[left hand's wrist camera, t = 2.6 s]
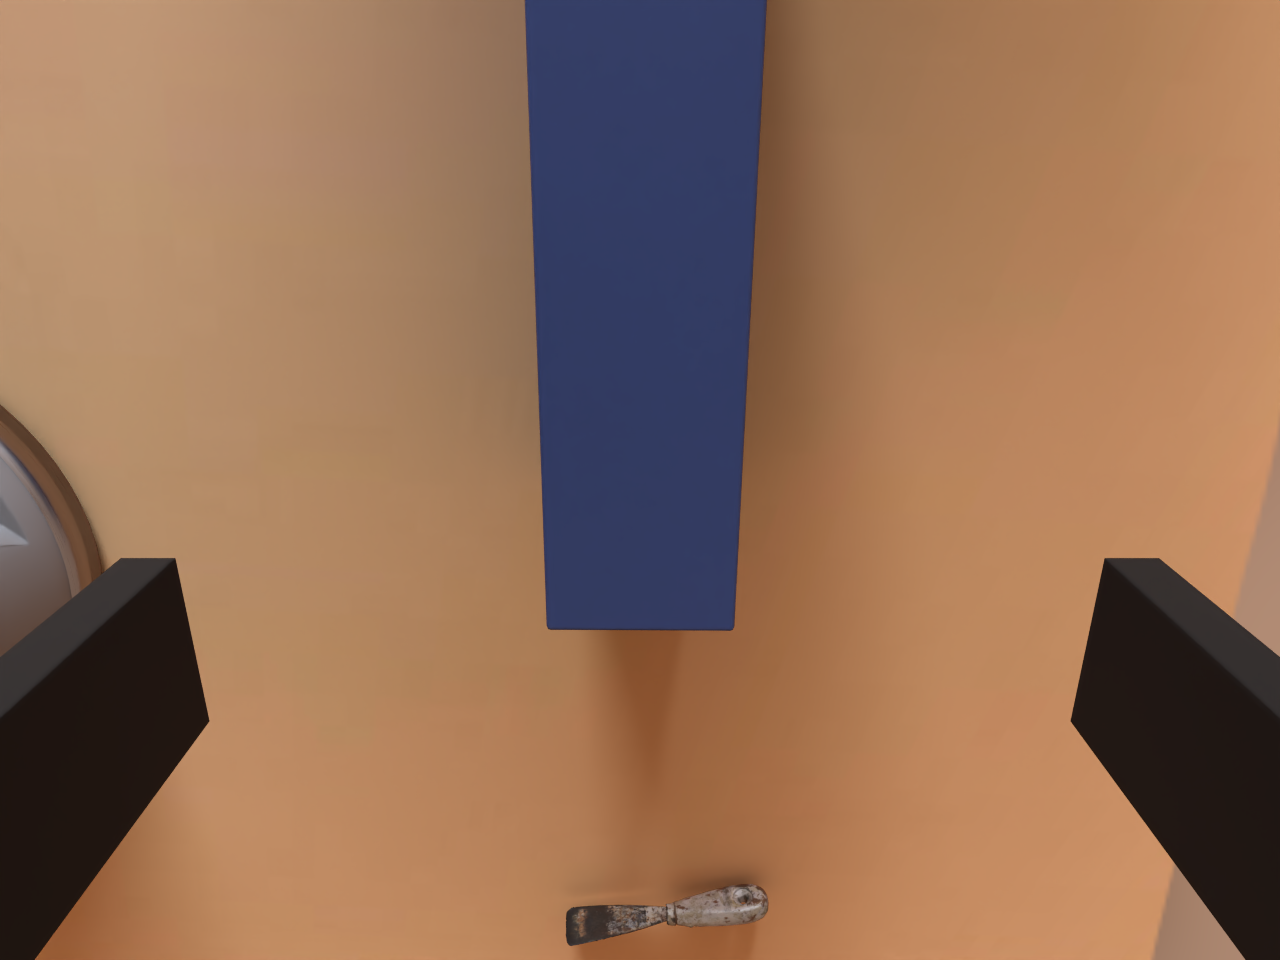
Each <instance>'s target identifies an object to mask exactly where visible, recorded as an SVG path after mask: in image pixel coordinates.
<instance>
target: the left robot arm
mask: <svg viewBox="0 0 1280 960" xmlns="http://www.w3.org/2000/svg"><path fill="white" fill-rule="evenodd" d="M208 722H209V717H208V712H207V708H206V703H205V698H204V693H203V688H202V684H201V679H200V674H199V669H198V665H197V660H196V655H195V650H194V645H193V641H192V636H191V631H190V626H189V622H188V617H187V612H186V607H185V602H184V598H183V593H182V588H181V583H180V579H179V574H178V569H177V564H176V559H175V558H121V559H120V560H118V561H117V562H116V563H115V564H113V565H112V566H111V567H110V568H109V569H107V570H106V571H105V572H104V573H101V564H100V560H99V555H98V550H97V546H96V542H95V539H94V536H93V533H92V530H91V527H90V524H89V522H88V520H87V517H86V515H85V513H84V511H83V508H82V506H81V504H80V502H79V500H78V498H77V496H76V495H75V493H74V491H73V489H72V487H71V486H70V484H69V482H68V481H67V479H66V478H65V476H64V475H63V473H62V472H61V470H60V469H59V467H58V466H57V464H56V463H55V462H54V460H53V459H52V458H51V457H50V455H49V454H48V453H47V452H46V450H45V449H44V448H43V446H42V445H41V444H40V443H39V442H38V441H37V440H36V439H35V438H34V436H33V435H32V434H31V433H30V432H29V431H28V430H27V429H26V428H25V427H24V426H23V425H22V424H21V423H20V422H19V421H18V420H17V419H16V418H15V417H14V416H12V415H11V414H10V413H9V412H8V411H7V410H6V409H5V408H4V407H2V406H1V405H0V960H35V958H36V957H37V956H38V954H39V953H40V951H41V950H42V949H43V947H44V946H45V945H46V943H47V942H48V941H49V939H50V938H51V936H52V935H53V934H54V932H55V931H56V930H57V928H58V927H59V926H60V924H61V923H62V921H63V920H64V919H65V917H66V916H67V915H68V913H69V912H70V911H71V909H72V908H73V906H74V905H75V904H76V902H77V901H78V900H79V898H80V897H81V896H82V894H83V893H84V891H85V890H86V889H87V887H88V886H89V885H90V883H91V882H92V881H93V879H94V878H95V876H96V875H97V874H98V872H99V871H100V870H101V868H102V867H103V866H104V864H105V863H106V861H107V860H108V859H109V857H110V856H111V855H112V853H113V852H114V851H115V849H116V848H117V846H118V845H119V844H120V842H121V841H122V840H123V838H124V837H125V836H126V834H127V833H128V831H129V830H130V829H131V827H132V826H133V825H134V823H135V822H136V821H137V819H138V818H139V816H140V815H141V814H142V812H143V811H144V810H145V808H146V807H147V806H148V804H149V803H150V801H151V800H152V799H153V797H154V796H155V795H156V793H157V792H158V791H159V789H160V788H161V786H162V785H163V784H164V782H165V781H166V780H167V778H168V777H169V776H170V774H171V773H172V771H173V770H174V769H175V767H176V766H177V765H178V763H179V762H180V761H181V759H182V758H183V756H184V755H185V754H186V752H187V751H188V750H189V748H190V747H191V746H192V744H193V743H194V741H195V740H196V739H197V737H198V736H199V735H200V733H201V732H202V731H203V729H204V728H205V726H206V725H207V724H208ZM1071 722H1072V724H1073V725H1074V726H1075V728H1076V729H1077V731H1078V732H1079V733H1080V735H1081V736H1082V737H1083V739H1084V740H1085V741H1086V743H1087V744H1088V746H1089V747H1090V748H1091V750H1092V751H1093V752H1094V754H1095V755H1096V756H1097V758H1098V759H1099V761H1100V762H1101V763H1102V765H1103V766H1104V767H1105V769H1106V770H1107V771H1108V773H1109V774H1110V776H1111V777H1112V778H1113V780H1114V781H1115V782H1116V784H1117V785H1118V786H1119V788H1120V789H1121V791H1122V792H1123V793H1124V795H1125V796H1126V797H1127V799H1128V800H1129V801H1130V803H1131V804H1132V806H1133V807H1134V808H1135V810H1136V811H1137V812H1138V814H1139V815H1140V816H1141V818H1142V819H1143V821H1144V822H1145V823H1146V825H1147V826H1148V827H1149V829H1150V830H1151V831H1152V833H1153V834H1154V836H1155V837H1156V838H1157V840H1158V841H1159V842H1160V844H1161V845H1162V846H1163V848H1164V849H1165V851H1166V852H1167V853H1168V855H1169V856H1170V857H1171V859H1172V860H1173V861H1174V863H1175V864H1176V866H1177V867H1178V868H1179V870H1180V871H1181V872H1182V874H1183V875H1184V876H1185V878H1186V879H1187V881H1188V882H1189V883H1190V885H1191V886H1192V887H1193V889H1194V890H1195V891H1196V893H1197V894H1198V896H1199V897H1200V898H1201V900H1202V901H1203V902H1204V904H1205V905H1206V906H1207V908H1208V909H1209V911H1210V912H1211V913H1212V915H1213V916H1214V917H1215V919H1216V920H1217V921H1218V923H1219V924H1220V926H1221V927H1222V928H1223V930H1224V931H1225V932H1226V934H1227V935H1228V936H1229V938H1230V939H1231V941H1232V942H1233V943H1234V945H1235V946H1236V947H1237V949H1238V950H1239V951H1240V953H1241V954H1242V956H1243V957H1244V958H1245V960H1280V657H1279V656H1278V655H1277V654H1275V653H1274V652H1273V651H1272V650H1271V649H1269V648H1268V647H1267V646H1266V645H1264V644H1263V643H1262V642H1261V641H1259V640H1258V639H1257V638H1256V637H1254V636H1253V635H1252V634H1251V633H1250V632H1249V631H1247V630H1246V629H1245V628H1244V627H1242V626H1241V625H1240V624H1239V623H1237V622H1236V621H1235V620H1234V619H1233V618H1231V617H1230V616H1229V615H1228V614H1226V613H1225V612H1224V611H1223V610H1222V609H1220V608H1219V607H1218V606H1217V605H1215V604H1214V603H1213V602H1212V601H1211V600H1209V599H1208V598H1207V597H1206V596H1204V595H1203V594H1202V593H1201V592H1200V591H1198V590H1197V589H1196V588H1195V587H1193V586H1192V585H1191V584H1190V583H1189V582H1187V581H1186V580H1185V579H1184V578H1182V577H1181V576H1180V575H1179V574H1178V573H1176V572H1175V571H1174V570H1173V569H1171V568H1170V567H1169V566H1168V565H1167V564H1165V563H1164V562H1163V561H1162V560H1160V559H1159V558H1105V559H1104V564H1103V569H1102V574H1101V579H1100V583H1099V588H1098V593H1097V598H1096V602H1095V607H1094V612H1093V617H1092V622H1091V626H1090V631H1089V636H1088V641H1087V645H1086V650H1085V655H1084V660H1083V665H1082V669H1081V674H1080V679H1079V684H1078V688H1077V693H1076V698H1075V703H1074V708H1073V712H1072V717H1071Z"/></svg>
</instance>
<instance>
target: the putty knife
mask: <svg viewBox="0 0 1280 960" xmlns="http://www.w3.org/2000/svg"><path fill="white" fill-rule="evenodd" d="M742 902H745V903H746V904H741V903H742ZM767 911H768V898H767V895H766V893H765V891H764V890H763V889H762V888H761V887H759V886H757V885H752V884H741V885H733V886H728V887H723V888H719V889H715V890H711V891H707V892H704V893H701V894H697V895H694V896H691V897H687V898H684V899H682V900H679V901H675V902H672V903H670V904H666V907H662V906H642V905H610V906H609V905H598V906H583V907H575V908H574V907H573V908H571V909H569V911H567V915H566V920H567V921H566V938H567V943H568V944H569V945H570V946H573V945H579V944H583V943H587V942H592V941H598V940H601V939H606V938H609V937H614V936H618V935H621V934H625V933H630V932H634V931H637V930H640V929H644V928H647V927H650V926H653V925H656V924H659V923H662V922H665V921H667V924H668V925H672V926H674V925H676V924H677V925H681V926H687V927H693V926H699V927H703V926H728V925H739V924H747V923H752V922H755V921H758V920H760V919H762V918H763V917H764V916H765V914H766V913H767Z"/></svg>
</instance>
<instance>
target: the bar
mask: <svg viewBox="0 0 1280 960" xmlns="http://www.w3.org/2000/svg"><path fill="white" fill-rule="evenodd" d="M766 8H767V0H525V19H526V47H527V76H528V104H529V133H530V161H531V190H532V219H533V247H534V276H535V304H536V333H537V361H538V390H539V418H540V447H541V475H542V504H543V532H544V561H545V589H546V618H547V627H548V629H550V630H722V631H730V630H733V628H734V621H735V602H736V582H737V563H738V544H739V525H740V506H741V487H742V467H743V448H744V429H745V410H746V391H747V372H748V353H749V333H750V314H751V295H752V276H753V257H754V238H755V219H756V199H757V180H758V161H759V142H760V123H761V104H762V84H763V65H764V46H765V27H766Z"/></svg>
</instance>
